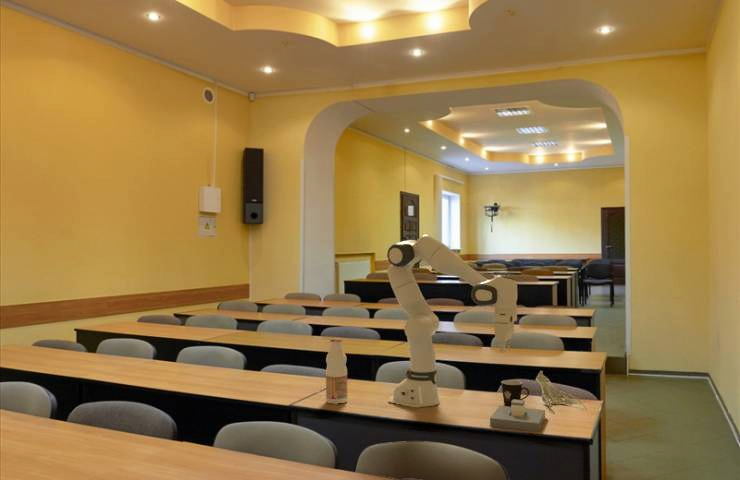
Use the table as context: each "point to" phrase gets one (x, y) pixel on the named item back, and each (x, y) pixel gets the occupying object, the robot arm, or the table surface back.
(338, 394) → the fruit juice
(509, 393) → the coffee mug
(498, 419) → the socket
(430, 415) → the table surface
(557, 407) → the table surface
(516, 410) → the toothpick box
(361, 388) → the table surface
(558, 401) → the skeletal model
